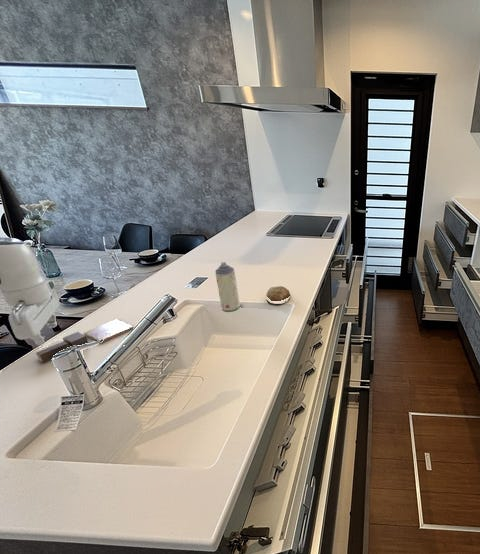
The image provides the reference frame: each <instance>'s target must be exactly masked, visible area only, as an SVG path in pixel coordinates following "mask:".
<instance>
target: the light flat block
mask: <svg viewBox="0 0 480 554" xmlns="http://www.w3.org/2000/svg"><path fill="white" fill-rule="evenodd" d="M133 328H134V326H133V325H131V324H129V323H126V322H124V321H122V320H119V319H113V320H111V321H108V322H106V323H104V324H101V325H99V326H96V327H94V328H92V329H88V330H87V331H85V332H83V335H85V336H86V337H87V338H89V339H92V340H93V341H96V340H99V339H104V341H103V342H102V343H101V344H104V343H106V342H108V341H110V340H113V339H114V338H117V337H118V336H121V335H123V334H125V333H128V332H129V331H132V330H134V329H133ZM96 342H97V341H96Z"/></svg>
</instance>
